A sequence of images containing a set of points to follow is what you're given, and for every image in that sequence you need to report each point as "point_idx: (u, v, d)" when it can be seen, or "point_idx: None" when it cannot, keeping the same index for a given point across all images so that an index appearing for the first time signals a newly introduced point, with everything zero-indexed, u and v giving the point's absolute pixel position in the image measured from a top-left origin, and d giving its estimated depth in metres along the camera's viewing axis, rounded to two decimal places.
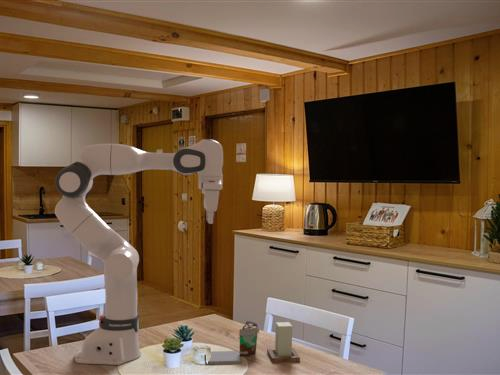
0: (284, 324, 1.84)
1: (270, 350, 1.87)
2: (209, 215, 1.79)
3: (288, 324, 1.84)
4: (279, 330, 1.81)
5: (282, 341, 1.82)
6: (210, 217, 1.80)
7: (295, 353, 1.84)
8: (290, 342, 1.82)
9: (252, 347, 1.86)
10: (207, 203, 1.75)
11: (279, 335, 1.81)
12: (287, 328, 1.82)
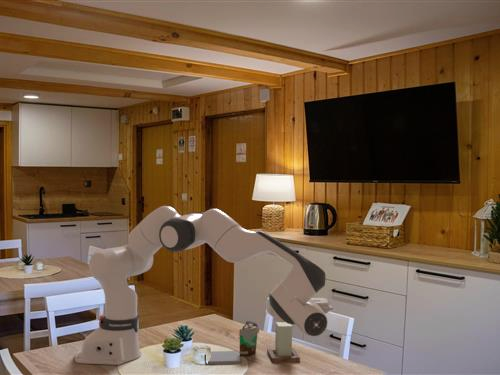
0: (284, 324, 1.84)
1: (270, 350, 1.87)
2: None
3: (288, 324, 1.84)
4: (279, 330, 1.81)
5: (282, 341, 1.82)
6: None
7: (295, 353, 1.84)
8: (290, 342, 1.82)
9: (252, 347, 1.86)
10: (267, 300, 1.63)
11: (279, 335, 1.81)
12: (287, 328, 1.82)
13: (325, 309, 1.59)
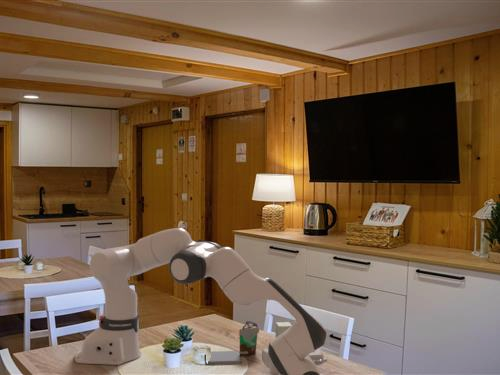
0: (284, 324, 1.84)
1: None
2: None
3: (288, 324, 1.84)
4: (279, 330, 1.81)
5: None
6: None
7: None
8: None
9: (252, 347, 1.86)
10: (263, 351, 1.67)
11: None
12: (287, 328, 1.82)
13: (319, 361, 1.63)
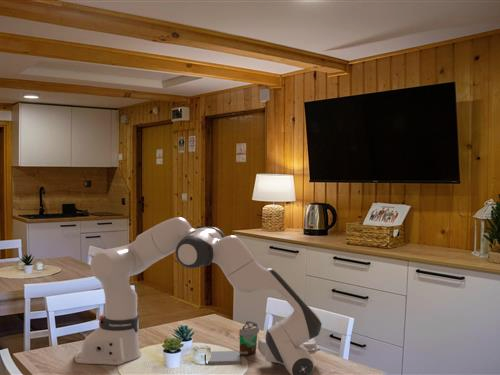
0: None
1: None
2: None
3: None
4: None
5: None
6: None
7: None
8: None
9: (252, 347, 1.86)
10: (259, 341, 1.76)
11: None
12: None
13: (312, 350, 1.73)
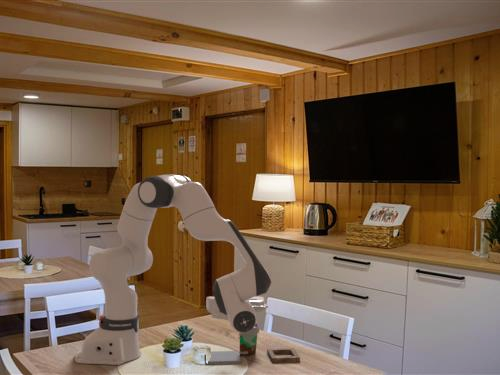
0: None
1: (270, 350, 1.87)
2: None
3: None
4: None
5: None
6: None
7: (295, 353, 1.84)
8: None
9: (252, 347, 1.86)
10: (207, 298, 1.74)
11: None
12: None
13: (260, 307, 1.70)
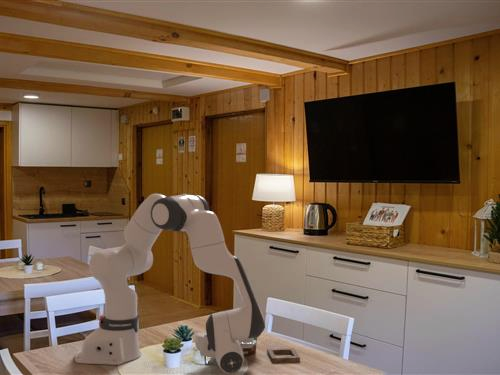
0: None
1: (270, 350, 1.87)
2: None
3: None
4: None
5: None
6: None
7: (295, 353, 1.84)
8: None
9: (252, 347, 1.86)
10: (195, 335, 1.73)
11: None
12: None
13: (248, 344, 1.69)
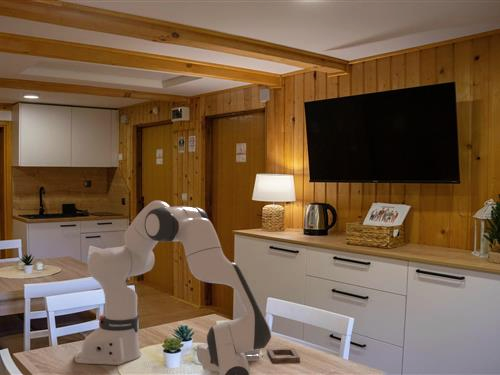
0: None
1: (270, 350, 1.87)
2: None
3: None
4: None
5: None
6: None
7: (295, 353, 1.84)
8: None
9: None
10: (197, 347, 1.61)
11: None
12: None
13: (254, 357, 1.57)
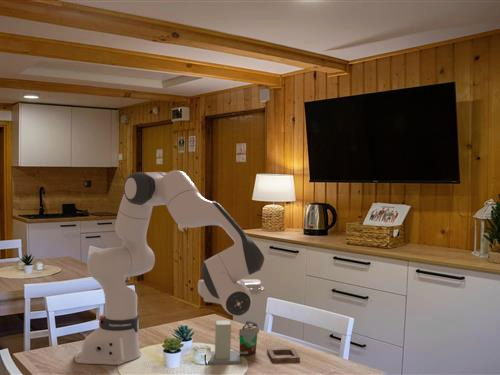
0: (223, 322, 1.81)
1: (270, 350, 1.87)
2: None
3: (227, 322, 1.81)
4: (217, 328, 1.78)
5: (220, 340, 1.78)
6: None
7: (295, 353, 1.84)
8: (229, 341, 1.79)
9: (252, 347, 1.86)
10: (198, 282, 1.60)
11: (217, 333, 1.78)
12: (226, 326, 1.78)
13: (256, 290, 1.56)
